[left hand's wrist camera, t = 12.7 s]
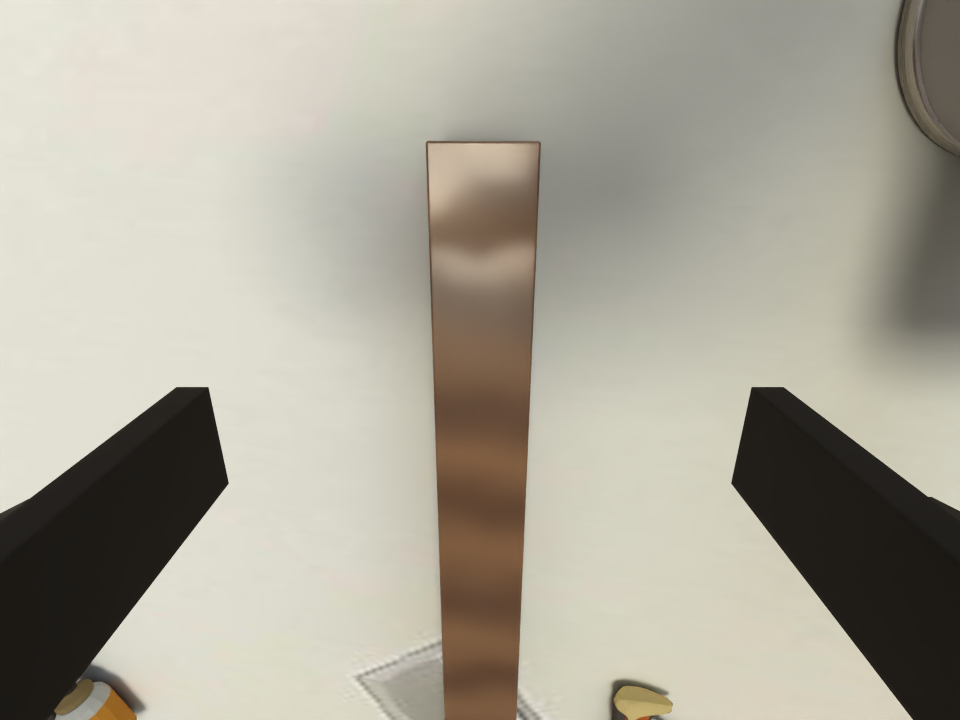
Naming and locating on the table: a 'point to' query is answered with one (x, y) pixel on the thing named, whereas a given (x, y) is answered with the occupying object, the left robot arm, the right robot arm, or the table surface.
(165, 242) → the table surface
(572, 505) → the table surface
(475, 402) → the post
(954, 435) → the table surface
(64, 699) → the spray gun
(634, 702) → the toy gun
